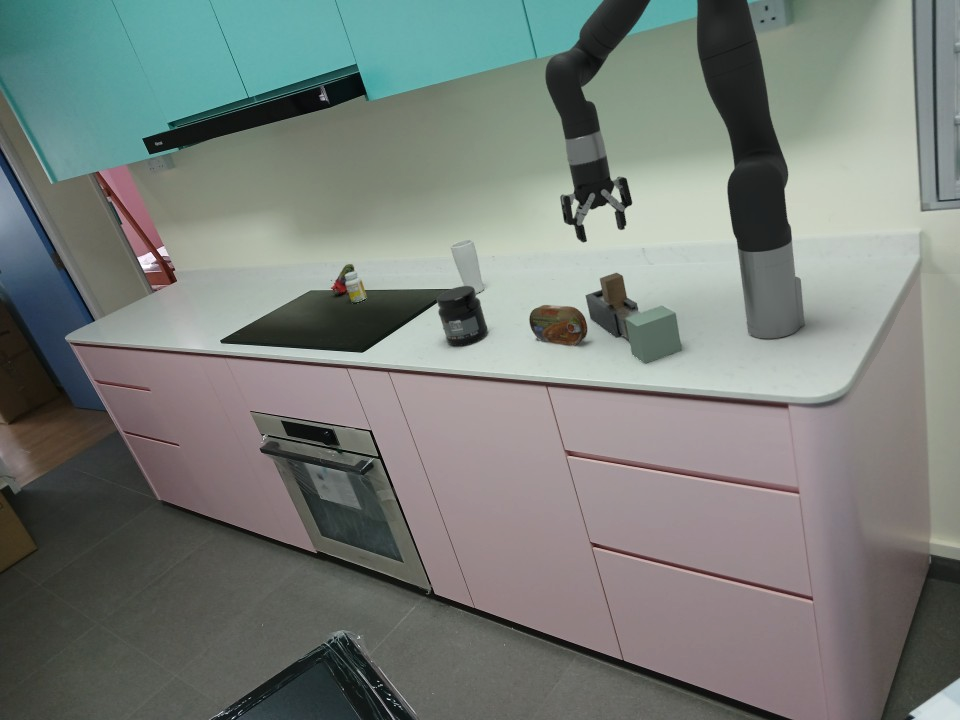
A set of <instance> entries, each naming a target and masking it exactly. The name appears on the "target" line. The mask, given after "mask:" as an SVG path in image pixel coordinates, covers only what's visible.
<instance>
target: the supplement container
mask: <svg viewBox="0 0 960 720" xmlns="http://www.w3.org/2000/svg"><path fill="white" fill-rule="evenodd" d="M436 302H437V305H438V307H439V309H438V311H437V312H438V316H439V318H440V321H441V324H442V326H443V327H442V328H443V330H444V334H445V336H446V341H447V342H448V343H449V344H450V345H452V346H457V347H460V346H461V347H462V346H468V345H472V344H474V343H477V342H479V341H480V340H482V339H483V338H484V337H485V336H486V335H487V334H488V329H489V328H488V325H487V322H486V319H485V315H484V313H483V308H482V306H481V305H482V304H481V300H480V298H479V297H477V294H476V293H475V289H474V288H473V287H471V286H464V285H462V286H456V287H452V288H450V289H447V290H446V291H443V292H442V293H440V294H439V295H438V296H437V297H436Z"/></svg>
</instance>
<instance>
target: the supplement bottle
mask: <svg viewBox="0 0 960 720" xmlns="http://www.w3.org/2000/svg"><path fill="white" fill-rule="evenodd" d="M345 278H346V280H347V281H346V283H345V284H346V287H347V289H346V290H347V291H348V293H349V294H348V293H347V294H348V296H349V298H350V301H351V303H352V302H359V301H362V300H364V299H366V298H367V299H368V296H367V293H366V290H365V286H364V284H363V280H362V278H361V277H359V276H358V272H357V271H354V272H350V273H347V274H345ZM367 299H366V300H367Z"/></svg>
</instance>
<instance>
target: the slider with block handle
mask: <svg viewBox="0 0 960 720" xmlns="http://www.w3.org/2000/svg"><path fill="white" fill-rule="evenodd" d="M599 282H600V286H601V290H602V293H603V296H601V297H598V298H599V299H601V300H602V301H604V302H605V303H607V304H608V305H610V306H611V307H613V308H615V309H616V310H617V312H618V313H616V314H614V316H615V320H616V325H617V330H618V332H619V333H620V334H622V335H623V336H622V337H625V338H626V339H627V340H629V336H628V331H627V326H626V321H625V318H627V317H630V316H633V315H636V314H639V313H641V311H639V310H638V311H637V310H636V309H634V308H631V307H629V306H627V305H626V304H624V302H623V301H624V300H627V298H628V295H627V290H626V287H625V279H624V275H623V274H620V273H619V272H613V273H611V274H608V275H605V276H603V277H600V278H599Z"/></svg>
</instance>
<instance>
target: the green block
mask: <svg viewBox="0 0 960 720" xmlns="http://www.w3.org/2000/svg"><path fill="white" fill-rule="evenodd" d="M625 321H626V326H627V331H628V336H629V339H628V340H629V346H630V351H631V355H632V356H633V355H634V356H633V357H635V358H636V357H637V358H638V360H639V361H640V360H641V361H642V364H644V363H645V364H647V362H648V363H650V362H649V361H651V362H653V361H652V360H654V361H655V360H658V358H659V359H661V357H662V358H664V356H665V357H667V356H669V355H673V354H675V352H676V353H679V352H681V351H683V349H682V343H681V337H680V331H679V326H678V324H679V323H678V319H677V313H676V312H675V311H673V310H672V309H670V308H667V307H666V306H664V305H659V306H656V307H654V308H650V309H648V310H645V311H642V312H640V313H639V314H636V315H633V316H630V317H627V318H625ZM678 351H679V352H678ZM672 353H673V354H672ZM666 355H667V356H666ZM637 358H636V359H637ZM641 361H640V362H641Z"/></svg>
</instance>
